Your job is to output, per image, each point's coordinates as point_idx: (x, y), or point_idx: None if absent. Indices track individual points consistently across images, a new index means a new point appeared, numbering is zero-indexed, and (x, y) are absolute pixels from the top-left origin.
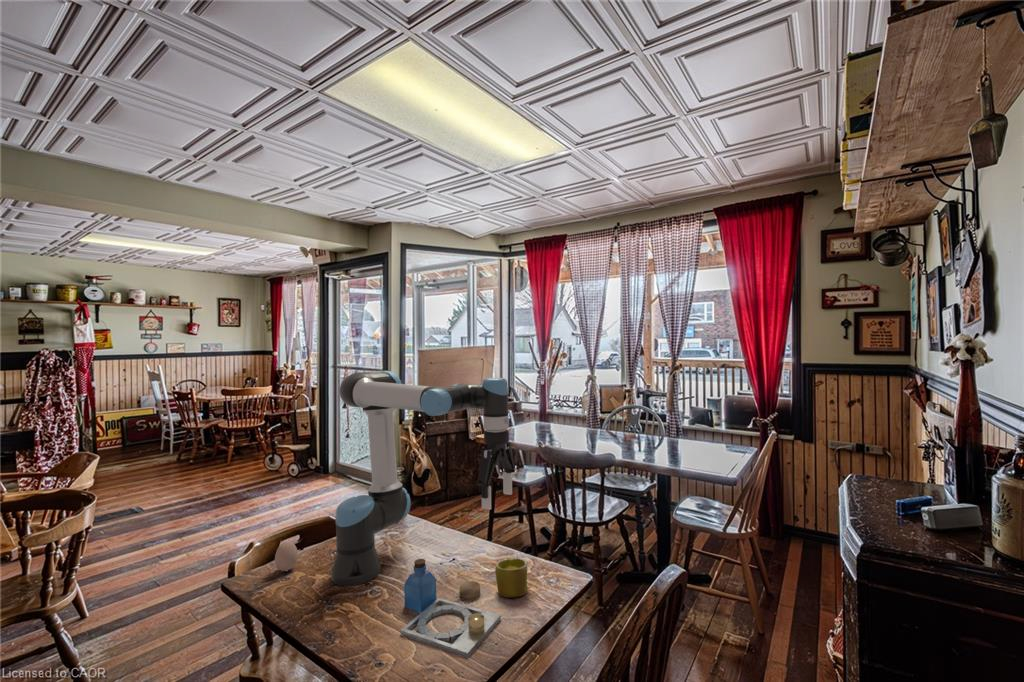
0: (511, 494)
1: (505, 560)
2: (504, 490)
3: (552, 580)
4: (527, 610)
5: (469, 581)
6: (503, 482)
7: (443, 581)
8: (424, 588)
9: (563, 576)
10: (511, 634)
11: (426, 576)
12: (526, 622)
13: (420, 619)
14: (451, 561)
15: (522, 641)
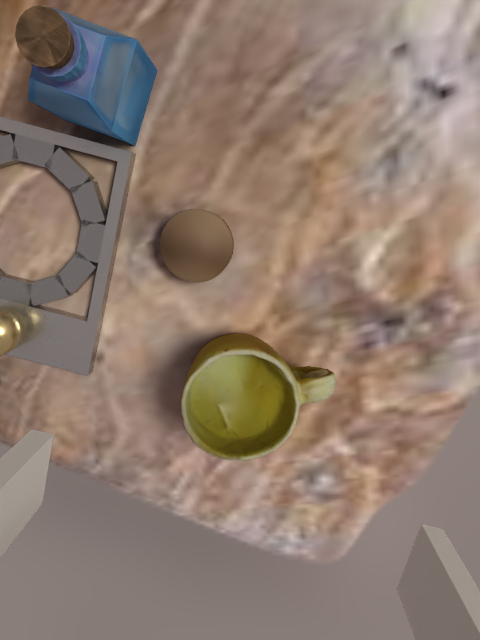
0: (403, 591)
1: (283, 372)
2: (429, 557)
3: (322, 482)
4: (151, 433)
5: (226, 235)
6: (468, 615)
7: (263, 118)
8: (50, 108)
9: (350, 511)
10: (41, 411)
11: (64, 96)
12: (98, 439)
13: (5, 141)
14: (422, 90)
15: None
